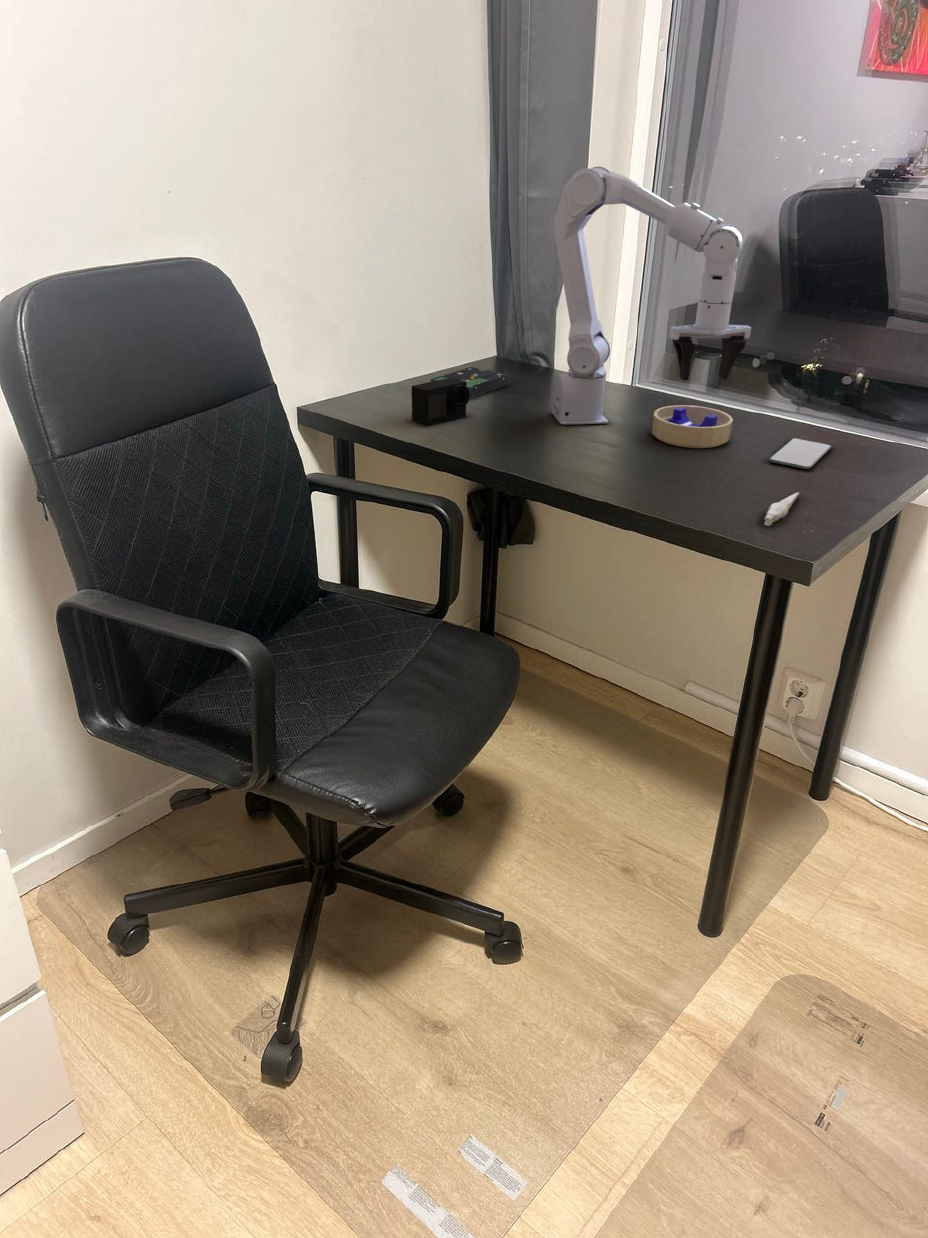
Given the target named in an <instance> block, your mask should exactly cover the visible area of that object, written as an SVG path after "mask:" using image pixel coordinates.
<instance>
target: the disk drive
mask: <svg viewBox="0 0 928 1238" xmlns="http://www.w3.org/2000/svg"><path fill="white" fill-rule="evenodd" d="M508 377H509V376H508V374H507V373H505V372H504V373H503V372H497V371H494V370H489V369H485V370H481V369H480V368H479V367H473V366H470V367H466V368H462V369H459V370H456V371H454V372H453V371H452V372H450V373H449V372H448V373H446V374H442V375H440V376H439V375H438V376H436V377H433V378H430V382H433V381H438V380H443V379H448V378H456V379H459V380H462V381H466V382H467V388H468V390H469V393H470V397H469V399H472V398H474V397H477V396H480V395H483V394H485V393H489V392H491V391H494V390H497V389H500V388H503V387H505V386H507V385H508Z"/></svg>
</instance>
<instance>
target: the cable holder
mask: <svg viewBox="0 0 928 1238" xmlns="http://www.w3.org/2000/svg"><path fill="white" fill-rule="evenodd" d="M717 417H718V416H716V415H712V414H710V415H707V416H705V418H704V421H703V422H702V424H701V425H696V424H693V423H692V422H691V421H690V420H689V419H688V417H687V415H686V409H685V408H681V407H678V408H675V409H674V410H673V417H672V418H669V419H668V422H671V423H675V424H679V425H685V426H695V427H713V426H716V423H717Z"/></svg>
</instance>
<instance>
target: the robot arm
mask: <svg viewBox="0 0 928 1238" xmlns="http://www.w3.org/2000/svg"><path fill="white" fill-rule="evenodd" d="M621 204H622V205H626V206H628V207H630V208H631V209H634V210H635V211H637V212H638V211H639V212H640V213H642V214H644V215H646V216H647V217H650V218H652V219H654V220H656V221H657V222H660V223H662V224H663V225H664V227H665V230H666V235H667V236H668V237H670V238H672V239H674V240H675V241H677V242H678V243H681V244H682V245H684V246H686V247H687V248H690V249H692V250H693V251H695V252H697V253H703V255H704V257H705V263H704V269H703V272H702V274H701V282H700V289H699V295H698V302H697V309H696V317H695V324H686V325H675V326H674V325H673V326H670V331H669V339H672V344H673V346H674V350H675V352H676V357H677V361H678V367H679V369H678V370H679V379H681V380H682V381H685V382H686V381H688V380H689V378H690V370H691V362H692V359H693V355H694V352H695V348H696V344H695V343H694V342H693V340H694V339H721V359H720V363H719V369H718V377H719V378H720V379H722V380H728V377H729V375H730V372H731V371H732V369H733V368H732V367H733V366H734V364H735V362H736V360H737V358H738V357H739V355H740V354H741V353H742V352H743V350H744V349H745V348H746V345H747V340H746V339H750V337H751V331H752V327H751V326H749V325H747V324H730V316H731V310H732V303H733V299H734V293H735V292H734V291H735V285H736V281H737V280H736V279H737V272H736V271H737V269H738V256H739V254H740V253H741V250H742V249H743V237H742V234H741V231H739V230H738V229H737V228H735V226H734V225H733V224H728V223H727V224H724V219H722V218H721V217H718V218H717V219H716V218H714V217H712V216H711V215H709V214H707V213H705V212H703V211H702V210H700V205H699V204H697V203H695V202H692V203H691V204H689V203H687V202H683V203H681V204H678V205H673V204H672V203H670V202H668V201H667V200H666V199H663V198H662V197H660V196H659V195H657V194H656V193H654V192H652V191H650V190H648V189H647V188H645V187H644V186H643V185H640V184H639V183H637V182H636V181H634V180H632V179H631V178H629V177H627V176H625V175H623V174H620V173H617V172H615V171H610V170H609V169H608V168H605V167H603V166H593V167H591V168H589V167H586V168H581V169H579V170H577V171H575V173H573V174H572V176H571V177H570V178H569V180H568V181H567V182H566V184H565V185H564V186H563V188H562V195H561V199H560V202H559V204H558V205H559V206H558V209H557V211H556V214H555V217H554V220H553V232H554V238H555V243H556V249H557V254H558V260H559V266H560V272H561V278H562V283H563V289H564V296H565V300H566V306H567V307H566V308H567V312H568V319H569V324H570V326H569V333H568V344H569V345H568V346H569V348H568V352H567V355H566V362H567V365H568V372H565V373H560V374H557V375H556V377H555V381H554V391H553V392H554V393H553V405H552V406H553V407H552V411H551V414H552V415H553V417H554V418H555V419H556V420H557V422H558V423H559V424H560V425H562V426H566V425H567V426H568V425H570V426H571V425H602V424H603V425H605V424H607V425H608V424H609V420H608V419H607V417H605V416H604V415H603V409H604V402H605V401H604V400H605V391H606V380H607V370H606V368H605V365H604V364H605V363H606V362H607V361H608V360H609V357H610V355H611V345H610V342H609V341H608V338H607V337H606V336H605V334H604V332H603V326H602V324H601V322H600V320H599V318H598V314H597V309H596V308H597V307H596V302H595V295H594V289H593V283H592V277H591V270H590V263H589V258H588V252H587V246H586V245H587V244H586V239H585V232H584V228H585V227H586V225H587V224H588V223H589V221H590V220H591V219H592V217H593V216H594V213H596V211H598V210H599V209H600V208H602V207H603V206H604V205H606V206H607V205H621ZM692 339H693V340H692Z"/></svg>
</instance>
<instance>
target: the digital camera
mask: <svg viewBox="0 0 928 1238" xmlns="http://www.w3.org/2000/svg"><path fill="white" fill-rule="evenodd" d="M469 397H470V393H469V390H468V388H467V382H466V381H462V380H459V379H456V378H448V379H443V380H438V381H433V382H431V381H429V382H423V383H419V384H414V385H411V421H412V422H414V423H416V424H418V425H422V426H424V427H428V426H432V425H438V424H441V423H445V422H448V421H449V422H450V421H453V420H457V419H458V420H459V419H461V418H465V417H467V405H468V403H469V401H470V398H469Z"/></svg>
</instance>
